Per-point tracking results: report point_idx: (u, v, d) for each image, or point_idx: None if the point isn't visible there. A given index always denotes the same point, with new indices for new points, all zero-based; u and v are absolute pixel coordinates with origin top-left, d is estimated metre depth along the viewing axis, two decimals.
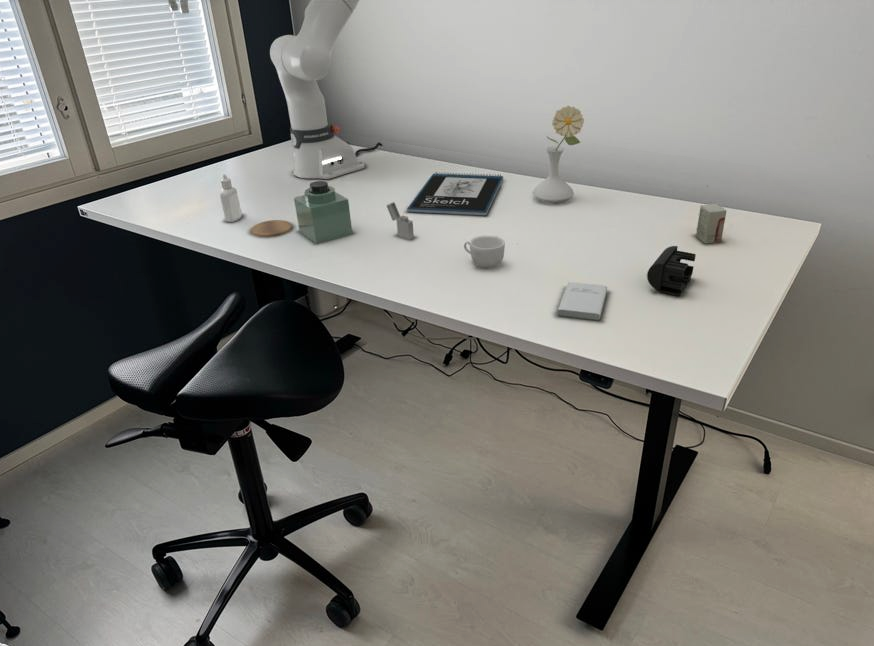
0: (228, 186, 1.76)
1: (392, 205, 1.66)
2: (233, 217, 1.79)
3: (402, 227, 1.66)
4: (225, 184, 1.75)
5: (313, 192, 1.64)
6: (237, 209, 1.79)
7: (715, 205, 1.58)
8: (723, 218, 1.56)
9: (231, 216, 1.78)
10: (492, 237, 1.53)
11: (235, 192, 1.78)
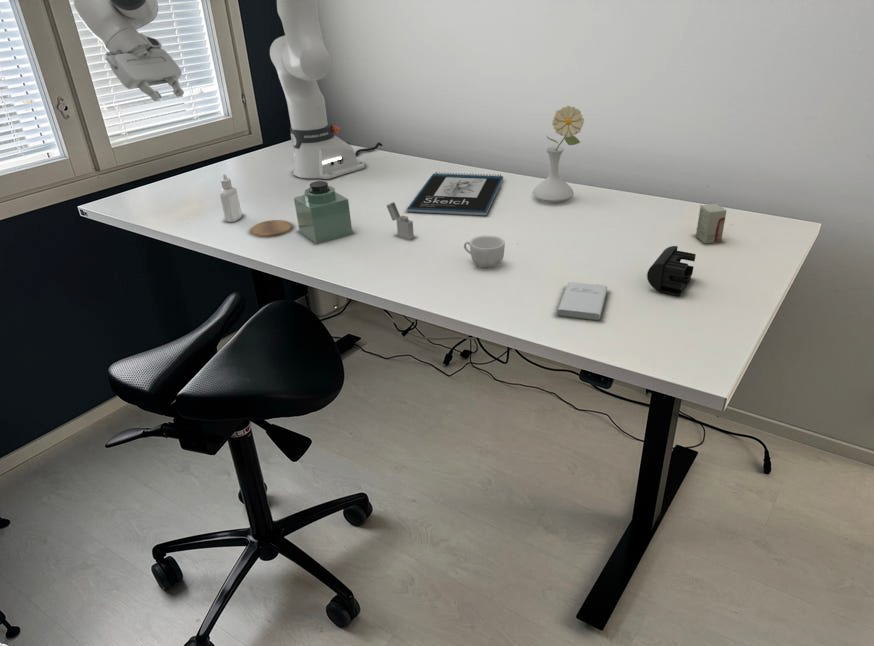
0: (228, 186, 1.76)
1: (392, 205, 1.66)
2: (233, 217, 1.79)
3: (402, 227, 1.66)
4: (225, 184, 1.75)
5: (313, 192, 1.64)
6: (237, 209, 1.79)
7: (715, 205, 1.58)
8: (723, 218, 1.56)
9: (231, 216, 1.78)
10: (492, 237, 1.53)
11: (235, 192, 1.78)
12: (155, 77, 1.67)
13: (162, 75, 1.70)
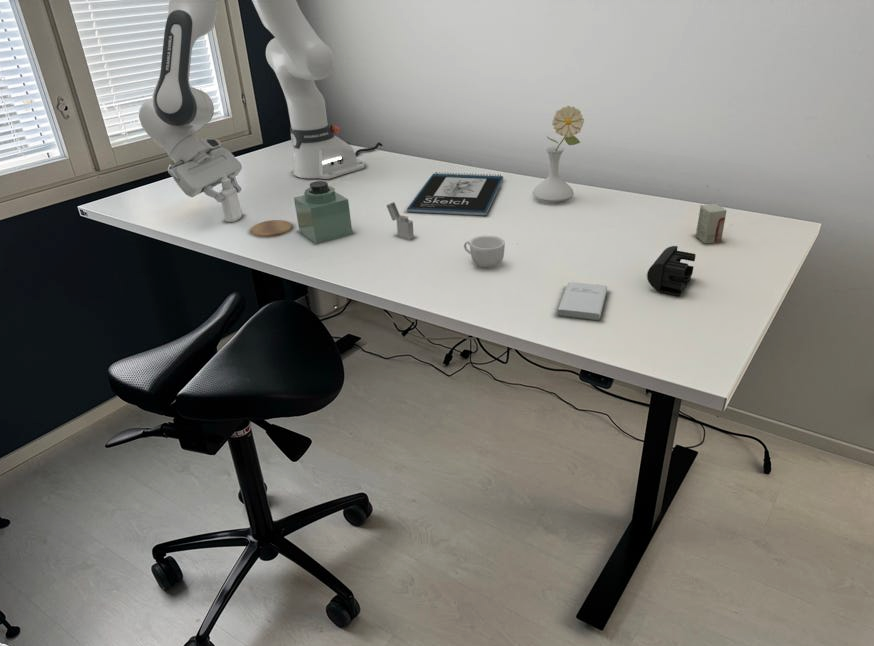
0: (228, 186, 1.76)
1: (392, 205, 1.66)
2: (234, 217, 1.79)
3: (402, 227, 1.66)
4: (225, 184, 1.75)
5: (313, 192, 1.64)
6: (237, 209, 1.79)
7: (715, 205, 1.58)
8: (723, 218, 1.56)
9: (231, 216, 1.78)
10: (492, 237, 1.53)
11: (235, 192, 1.78)
12: (215, 180, 1.75)
13: (222, 176, 1.77)
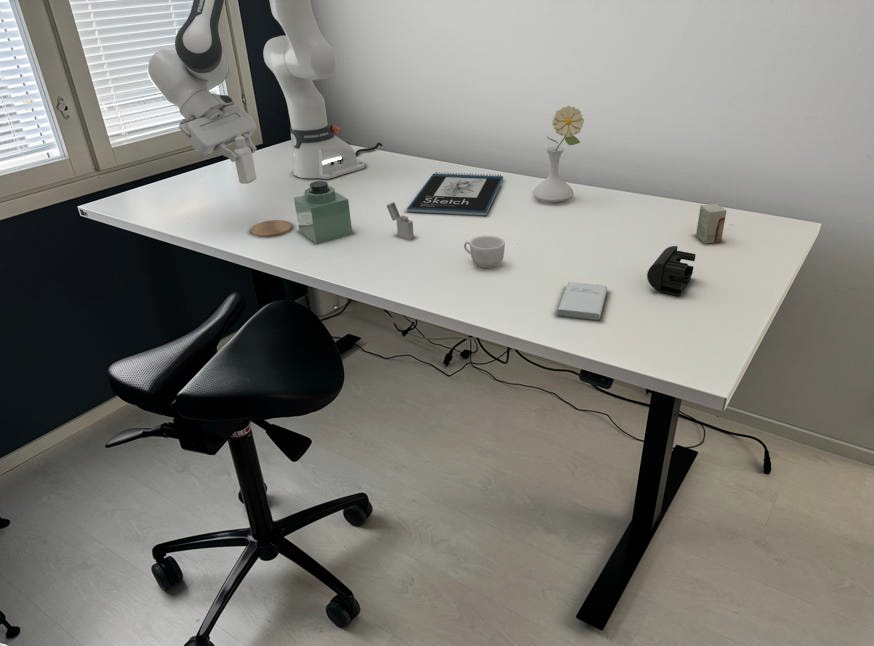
0: (242, 145, 1.65)
1: (392, 205, 1.66)
2: (248, 178, 1.68)
3: (402, 227, 1.66)
4: (239, 142, 1.64)
5: (313, 192, 1.64)
6: (251, 170, 1.68)
7: (715, 205, 1.58)
8: (723, 218, 1.56)
9: (246, 177, 1.67)
10: (492, 237, 1.53)
11: (250, 152, 1.67)
12: (229, 138, 1.64)
13: (236, 134, 1.66)
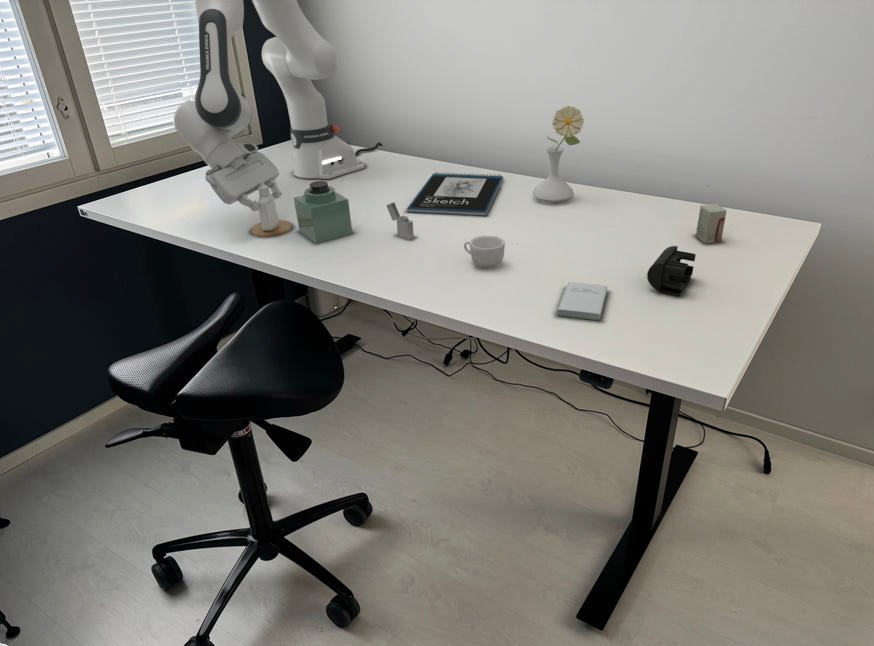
0: (266, 194, 1.68)
1: (392, 205, 1.66)
2: (271, 225, 1.71)
3: (402, 227, 1.66)
4: (263, 191, 1.68)
5: (313, 192, 1.64)
6: (274, 217, 1.72)
7: (715, 205, 1.58)
8: (723, 218, 1.56)
9: (269, 225, 1.71)
10: (492, 237, 1.53)
11: (273, 200, 1.70)
12: (253, 186, 1.67)
13: (260, 182, 1.69)
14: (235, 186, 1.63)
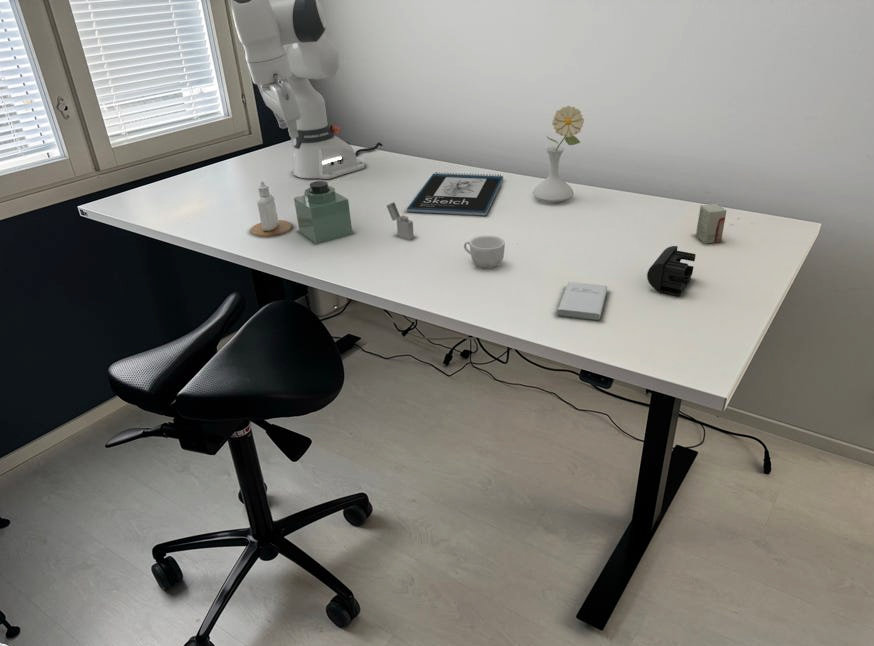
0: (266, 194, 1.68)
1: (392, 205, 1.66)
2: (271, 225, 1.71)
3: (402, 227, 1.66)
4: (263, 191, 1.68)
5: (313, 192, 1.64)
6: (274, 217, 1.72)
7: (715, 205, 1.58)
8: (723, 218, 1.56)
9: (269, 225, 1.71)
10: (492, 237, 1.53)
11: (273, 200, 1.70)
12: None
13: None
14: None
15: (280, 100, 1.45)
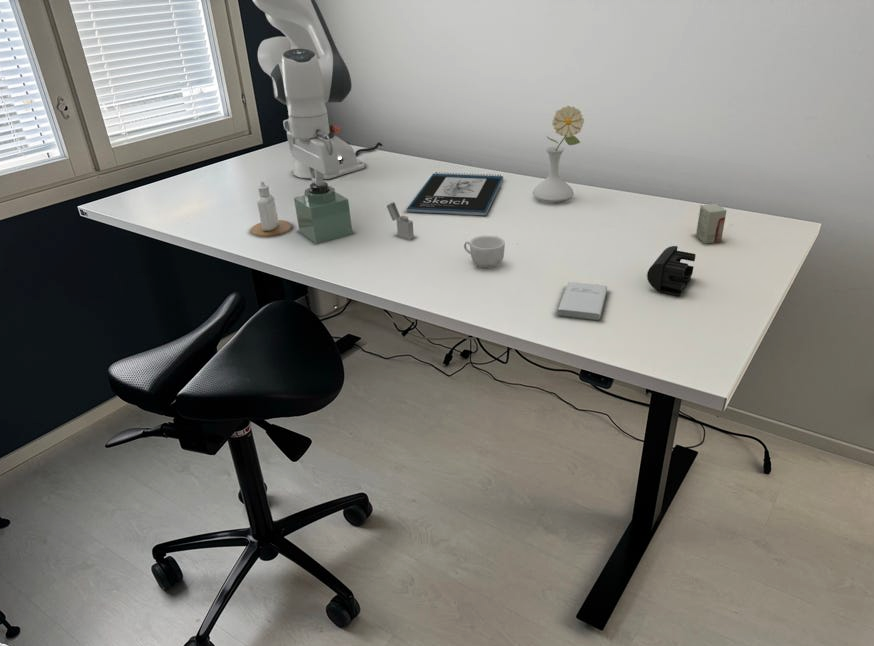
0: (266, 194, 1.68)
1: (392, 205, 1.66)
2: (271, 225, 1.71)
3: (402, 227, 1.66)
4: (263, 191, 1.68)
5: (313, 193, 1.64)
6: (274, 217, 1.72)
7: (715, 205, 1.58)
8: (723, 218, 1.56)
9: (269, 225, 1.71)
10: (492, 237, 1.53)
11: (273, 200, 1.70)
12: None
13: None
14: None
15: (324, 154, 1.52)
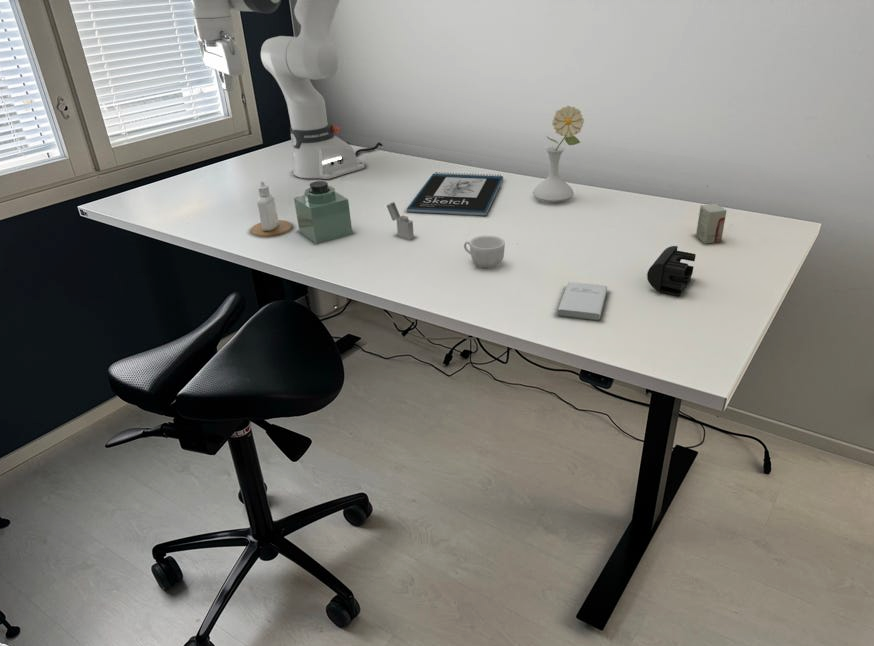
0: (266, 194, 1.68)
1: (392, 205, 1.66)
2: (271, 225, 1.71)
3: (402, 227, 1.66)
4: (263, 191, 1.68)
5: (313, 192, 1.64)
6: (274, 217, 1.72)
7: (715, 205, 1.58)
8: (723, 218, 1.56)
9: (269, 225, 1.71)
10: (492, 237, 1.53)
11: (273, 200, 1.70)
12: None
13: None
14: None
15: (226, 54, 1.59)
